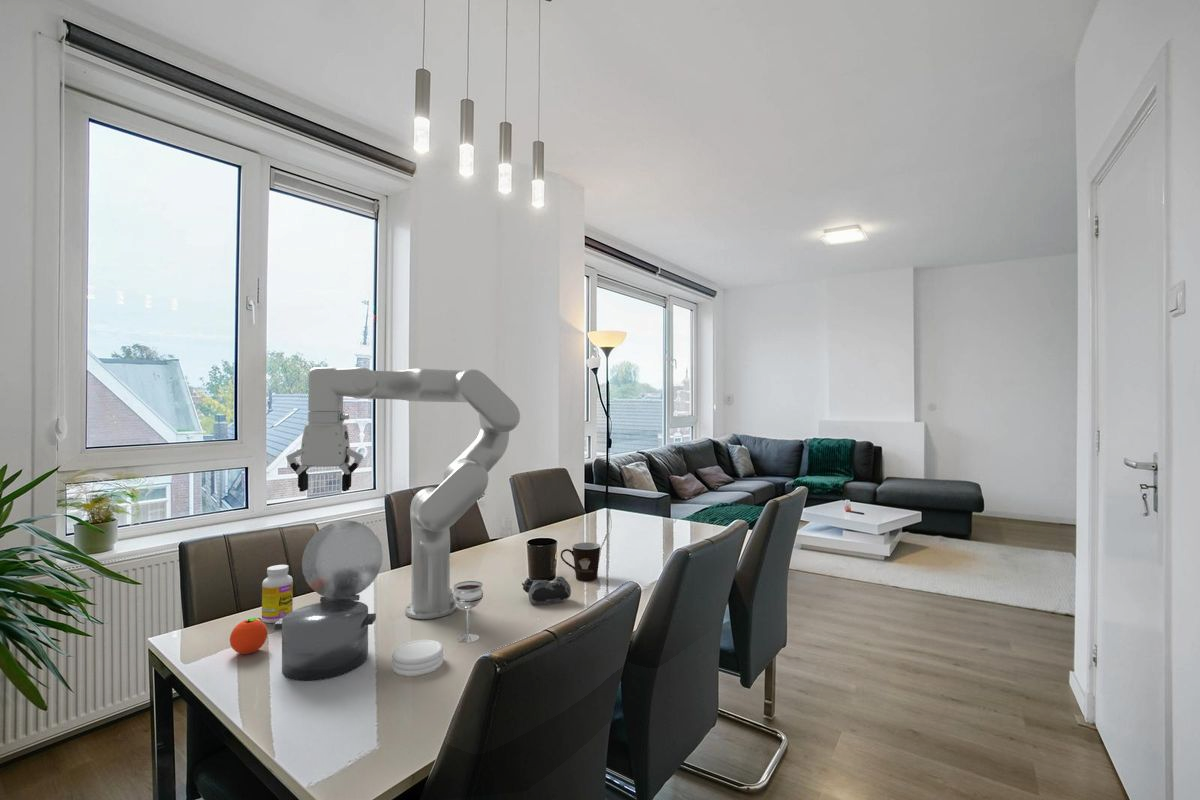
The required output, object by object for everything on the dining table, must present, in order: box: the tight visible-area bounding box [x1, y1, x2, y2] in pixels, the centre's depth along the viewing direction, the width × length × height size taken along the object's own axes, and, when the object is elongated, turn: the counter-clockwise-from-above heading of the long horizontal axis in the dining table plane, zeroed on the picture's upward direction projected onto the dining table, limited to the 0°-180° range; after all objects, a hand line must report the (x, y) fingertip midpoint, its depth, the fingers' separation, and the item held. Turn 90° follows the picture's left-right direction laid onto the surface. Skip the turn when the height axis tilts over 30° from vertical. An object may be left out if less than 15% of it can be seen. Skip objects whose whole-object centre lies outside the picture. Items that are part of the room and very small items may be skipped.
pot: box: [274, 600, 377, 682], centre depth 117 cm, size 19×16×10 cm
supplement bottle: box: [261, 564, 294, 624], centre depth 140 cm, size 7×7×13 cm
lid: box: [301, 520, 384, 603], centre depth 128 cm, size 18×17×2 cm
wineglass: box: [452, 580, 484, 644], centre depth 129 cm, size 7×7×12 cm
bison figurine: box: [521, 576, 572, 605], centre depth 154 cm, size 12×7×10 cm
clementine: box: [229, 617, 268, 655], centre depth 122 cm, size 8×7×7 cm
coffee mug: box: [560, 541, 601, 583], centre depth 174 cm, size 12×9×10 cm
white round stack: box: [391, 639, 444, 677], centre depth 115 cm, size 10×10×4 cm
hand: (324, 490), depth 135 cm, fingers open, 9 cm apart
